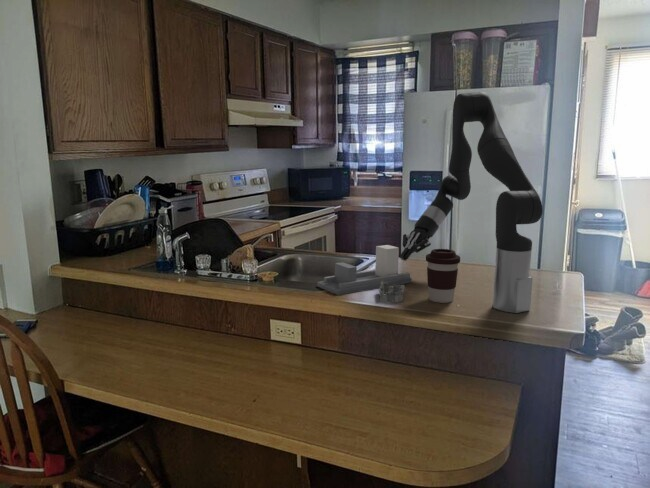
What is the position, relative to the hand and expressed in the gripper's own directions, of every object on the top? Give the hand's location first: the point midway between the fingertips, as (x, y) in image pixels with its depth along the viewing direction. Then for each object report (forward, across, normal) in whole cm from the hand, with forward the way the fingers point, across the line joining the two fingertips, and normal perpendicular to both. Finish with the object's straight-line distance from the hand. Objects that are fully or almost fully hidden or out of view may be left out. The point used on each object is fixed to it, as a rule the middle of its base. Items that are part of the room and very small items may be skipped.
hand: (402, 258), depth 177 cm
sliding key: (+8, 0, -1) cm, 9 cm away
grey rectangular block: (+20, 0, -13) cm, 24 cm away
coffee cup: (+10, +26, 0) cm, 28 cm away
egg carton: (+18, +16, -7) cm, 25 cm away
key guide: (+16, 0, -6) cm, 17 cm away
